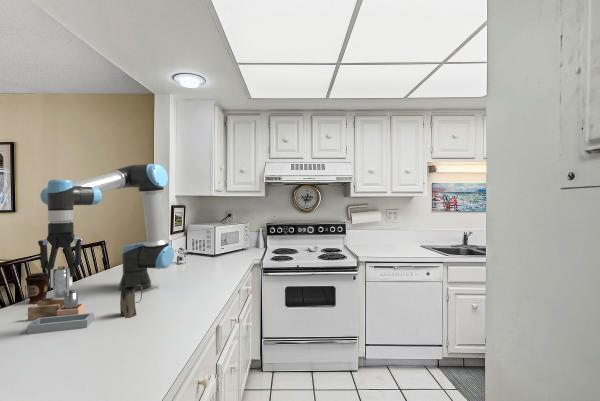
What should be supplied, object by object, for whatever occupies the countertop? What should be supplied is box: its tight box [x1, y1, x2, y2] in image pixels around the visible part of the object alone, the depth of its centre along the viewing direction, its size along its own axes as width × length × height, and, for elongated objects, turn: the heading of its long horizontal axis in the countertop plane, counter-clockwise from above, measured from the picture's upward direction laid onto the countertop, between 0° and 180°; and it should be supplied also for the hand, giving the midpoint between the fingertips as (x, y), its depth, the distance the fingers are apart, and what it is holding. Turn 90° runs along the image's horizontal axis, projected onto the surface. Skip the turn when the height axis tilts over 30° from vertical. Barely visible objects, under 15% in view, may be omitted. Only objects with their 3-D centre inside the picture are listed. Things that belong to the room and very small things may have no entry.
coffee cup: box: [24, 272, 50, 305], centre depth 149 cm, size 9×8×13 cm
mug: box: [119, 285, 143, 319], centre depth 131 cm, size 8×6×12 cm
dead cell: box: [63, 289, 79, 310], centre depth 127 cm, size 4×4×11 cm
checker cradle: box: [25, 297, 64, 322], centre depth 131 cm, size 11×10×6 cm
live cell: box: [53, 265, 70, 299], centre depth 119 cm, size 4×4×11 cm
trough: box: [26, 312, 95, 335], centre depth 119 cm, size 18×8×3 cm, turn 107°
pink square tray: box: [57, 303, 86, 316], centre depth 127 cm, size 7×7×5 cm
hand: (61, 286), depth 119 cm, fingers closed on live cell, 4 cm apart
